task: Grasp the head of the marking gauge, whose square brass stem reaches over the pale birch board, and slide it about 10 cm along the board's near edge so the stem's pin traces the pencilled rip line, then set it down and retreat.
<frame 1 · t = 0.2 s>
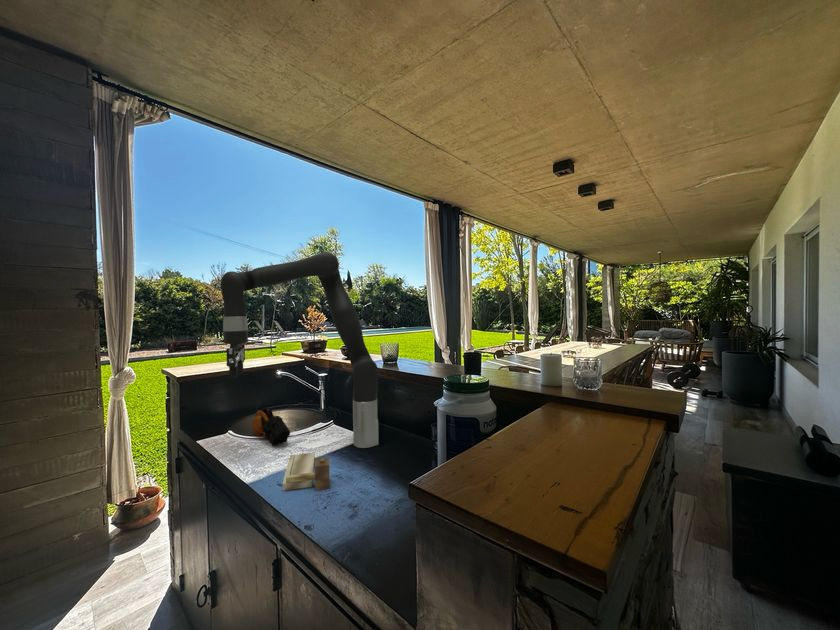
hand: (236, 375, 120), 29 cm above the countertop, fingers open, 8 cm apart
board: (300, 472, 109), on the countertop
tool: (271, 440, 136), on the countertop
gauge: (322, 485, 101), on the countertop
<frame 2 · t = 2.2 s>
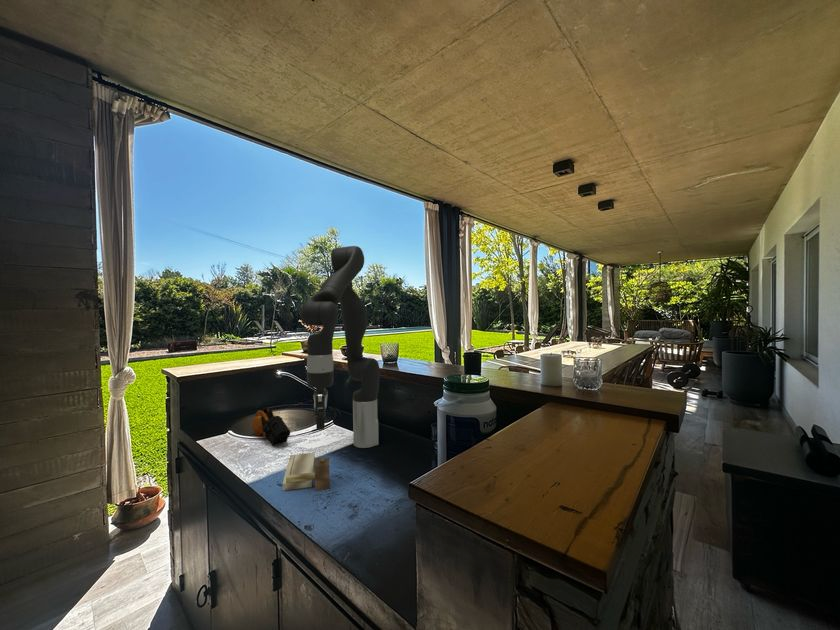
hand: (321, 424, 101), 18 cm above the countertop, fingers open, 8 cm apart
nothing on the countertop moved.
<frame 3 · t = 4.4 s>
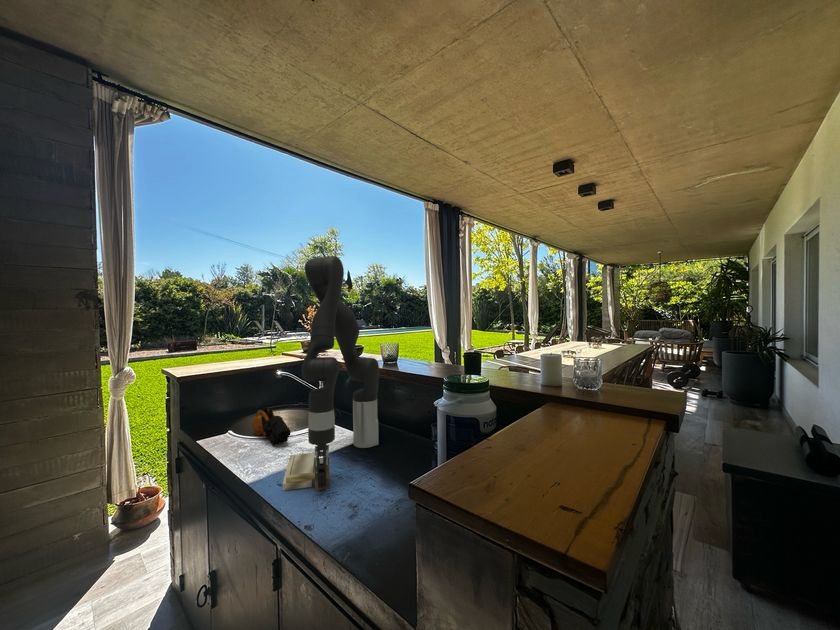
hand: (322, 481, 101), 1 cm above the countertop, fingers closed on gauge, 5 cm apart
gauge: (322, 485, 101), on the countertop, touching gripper
everything else where it was.
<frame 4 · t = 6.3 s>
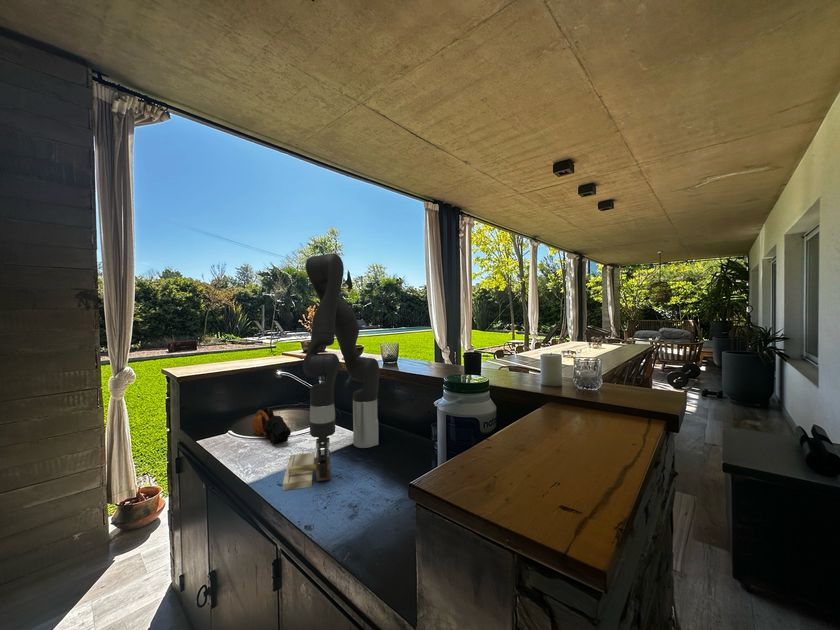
hand: (323, 472, 105), 2 cm above the countertop, fingers closed on gauge, 5 cm apart
gauge: (323, 476, 105), point 1 cm above the countertop, touching gripper
everything else where it was.
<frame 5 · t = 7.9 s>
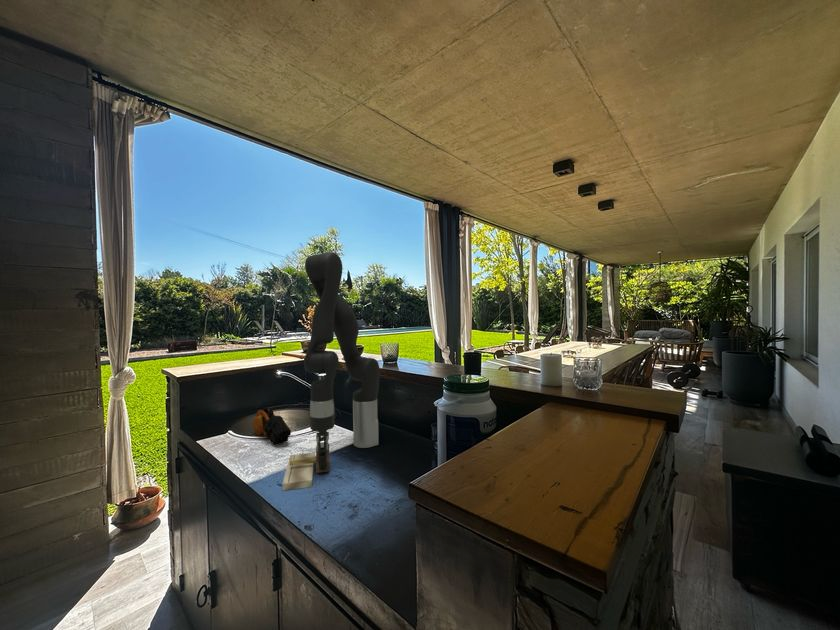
hand: (323, 465, 110), 2 cm above the countertop, fingers closed on gauge, 5 cm apart
gauge: (323, 468, 110), point 1 cm above the countertop, touching gripper
everything else where it was.
when the fingers open (1 cm above the countertop, at t = 8.6 s): gauge stays where it is, on the countertop.
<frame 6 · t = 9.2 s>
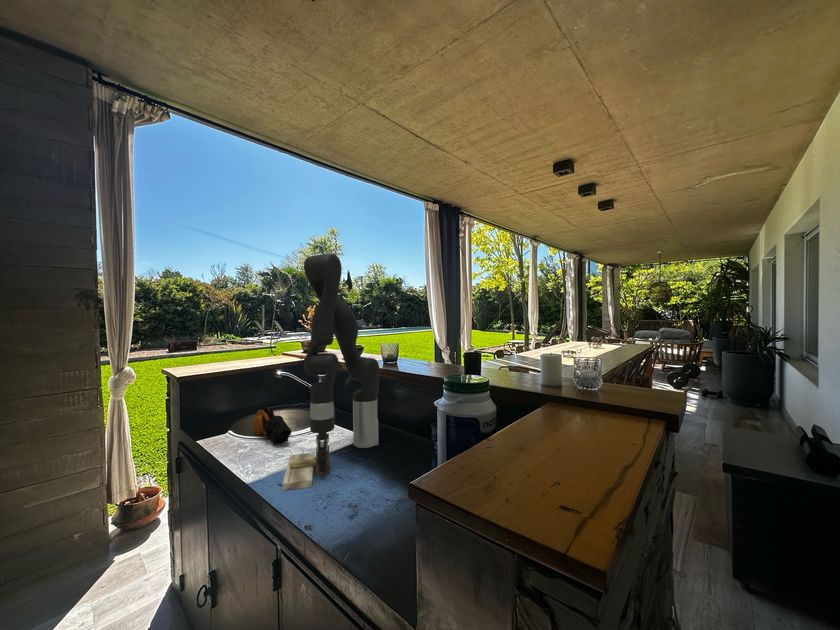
hand: (322, 465, 110), 2 cm above the countertop, fingers open, 8 cm apart
gauge: (323, 470, 110), on the countertop
everything else where it was.
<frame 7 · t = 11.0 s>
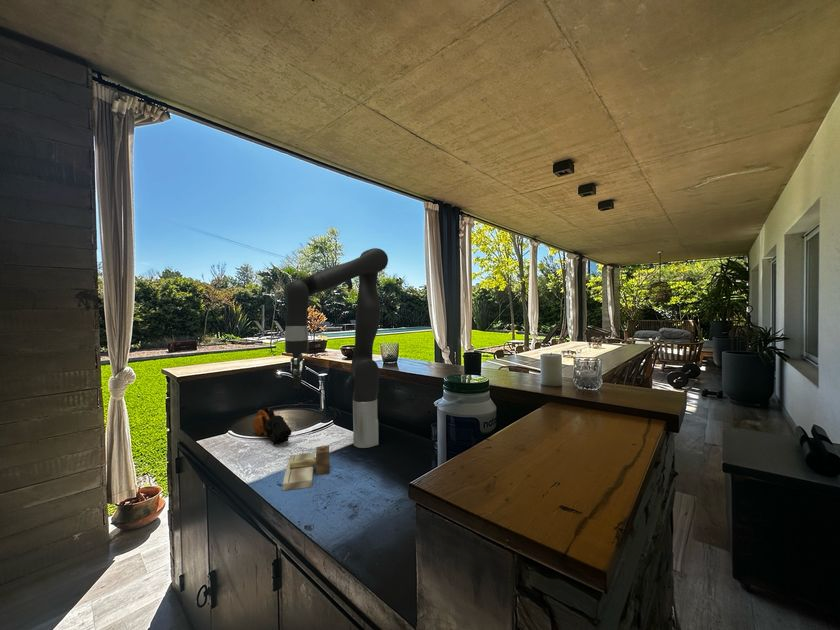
hand: (297, 385, 118), 26 cm above the countertop, fingers open, 8 cm apart
nothing on the countertop moved.
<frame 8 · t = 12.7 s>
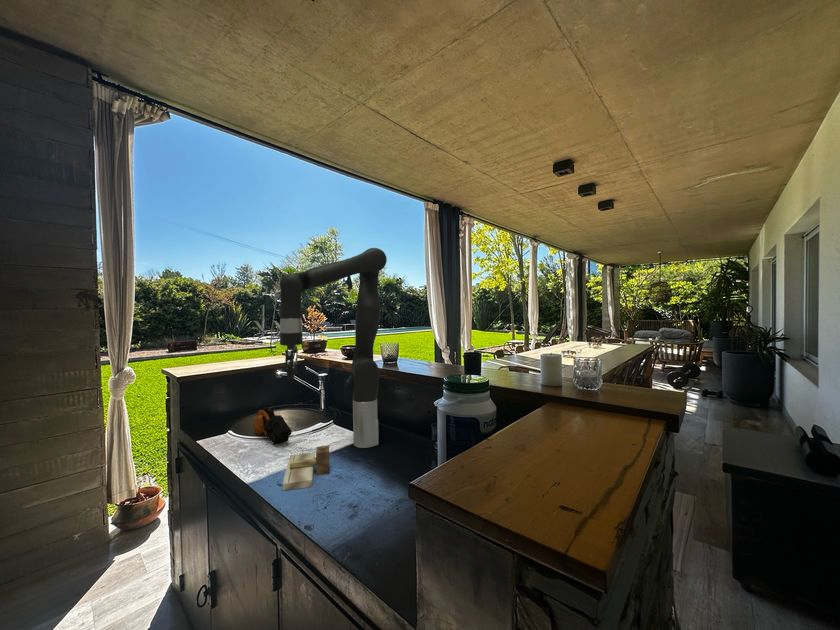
hand: (291, 377, 121), 28 cm above the countertop, fingers open, 8 cm apart
nothing on the countertop moved.
at the end: gauge 0.0 cm from the target spot on the countertop beside the board, on the countertop; gauge tilted 0°; the gripper is holding nothing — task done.
